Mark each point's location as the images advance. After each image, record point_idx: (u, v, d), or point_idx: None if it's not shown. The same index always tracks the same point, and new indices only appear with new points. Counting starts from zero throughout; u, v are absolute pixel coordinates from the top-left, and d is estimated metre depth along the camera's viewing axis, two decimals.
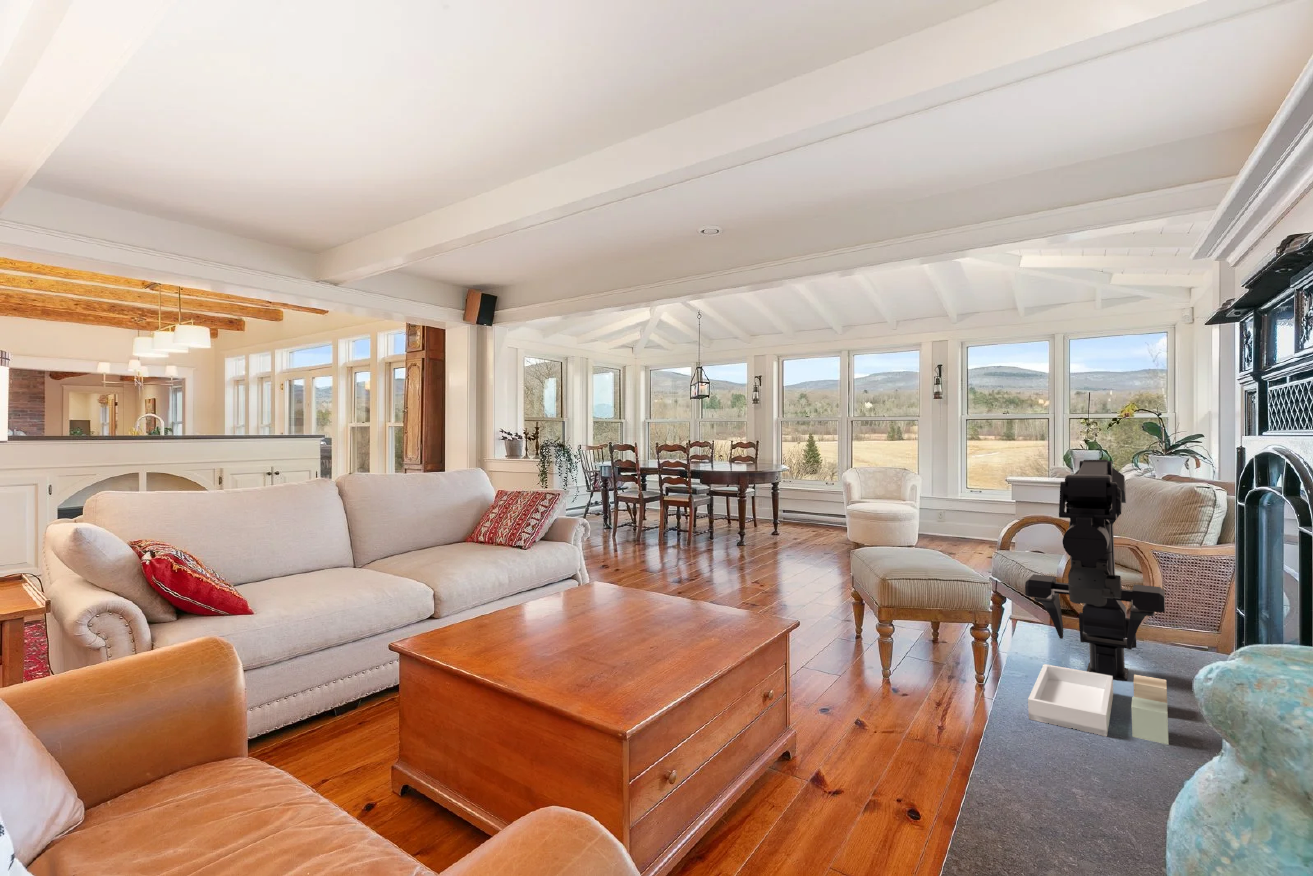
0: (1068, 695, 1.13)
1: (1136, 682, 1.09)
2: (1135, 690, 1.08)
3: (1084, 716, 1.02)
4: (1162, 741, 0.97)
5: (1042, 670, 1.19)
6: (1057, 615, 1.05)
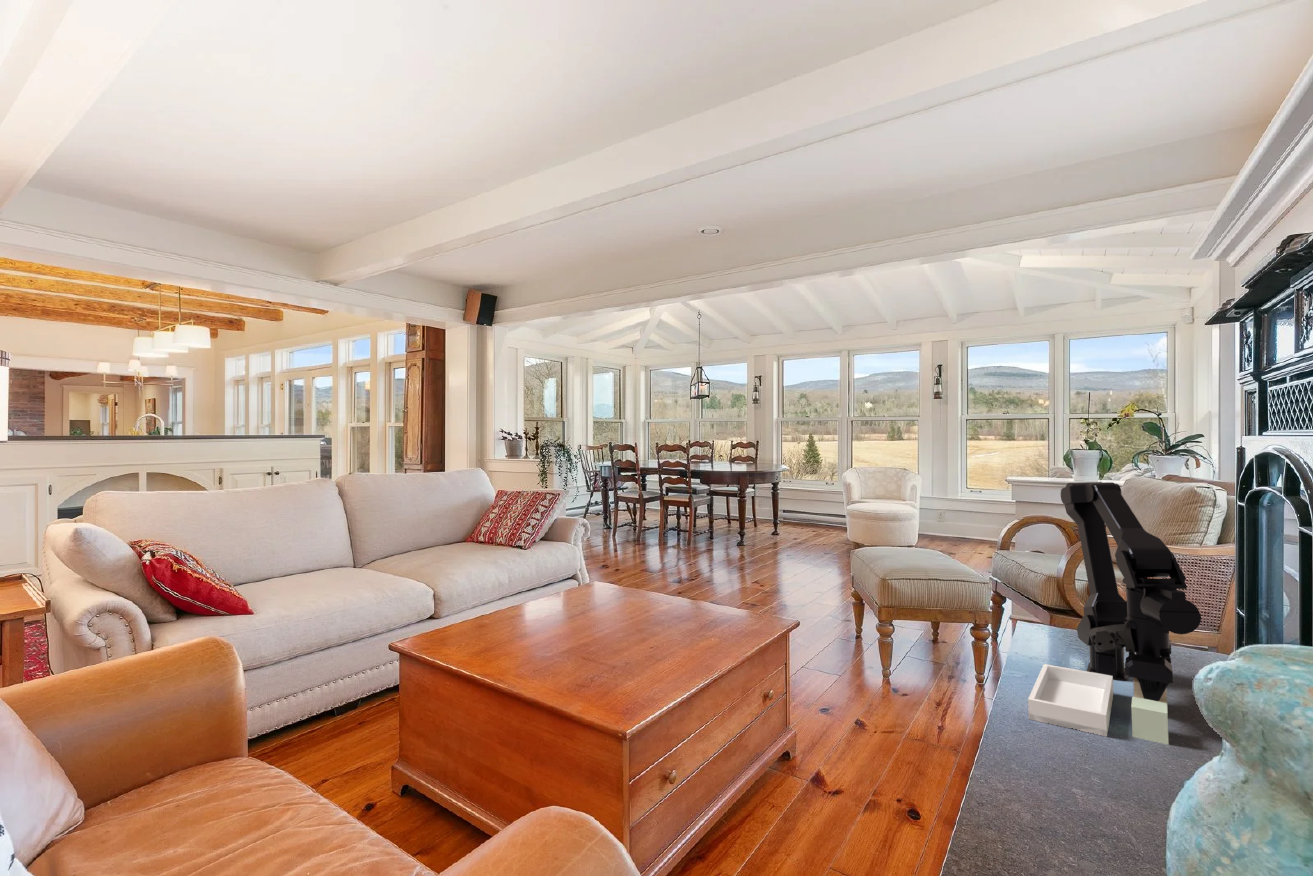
0: (1068, 695, 1.13)
1: (1136, 681, 1.09)
2: (1134, 690, 1.08)
3: (1084, 716, 1.02)
4: (1162, 741, 0.97)
5: (1042, 670, 1.19)
6: None
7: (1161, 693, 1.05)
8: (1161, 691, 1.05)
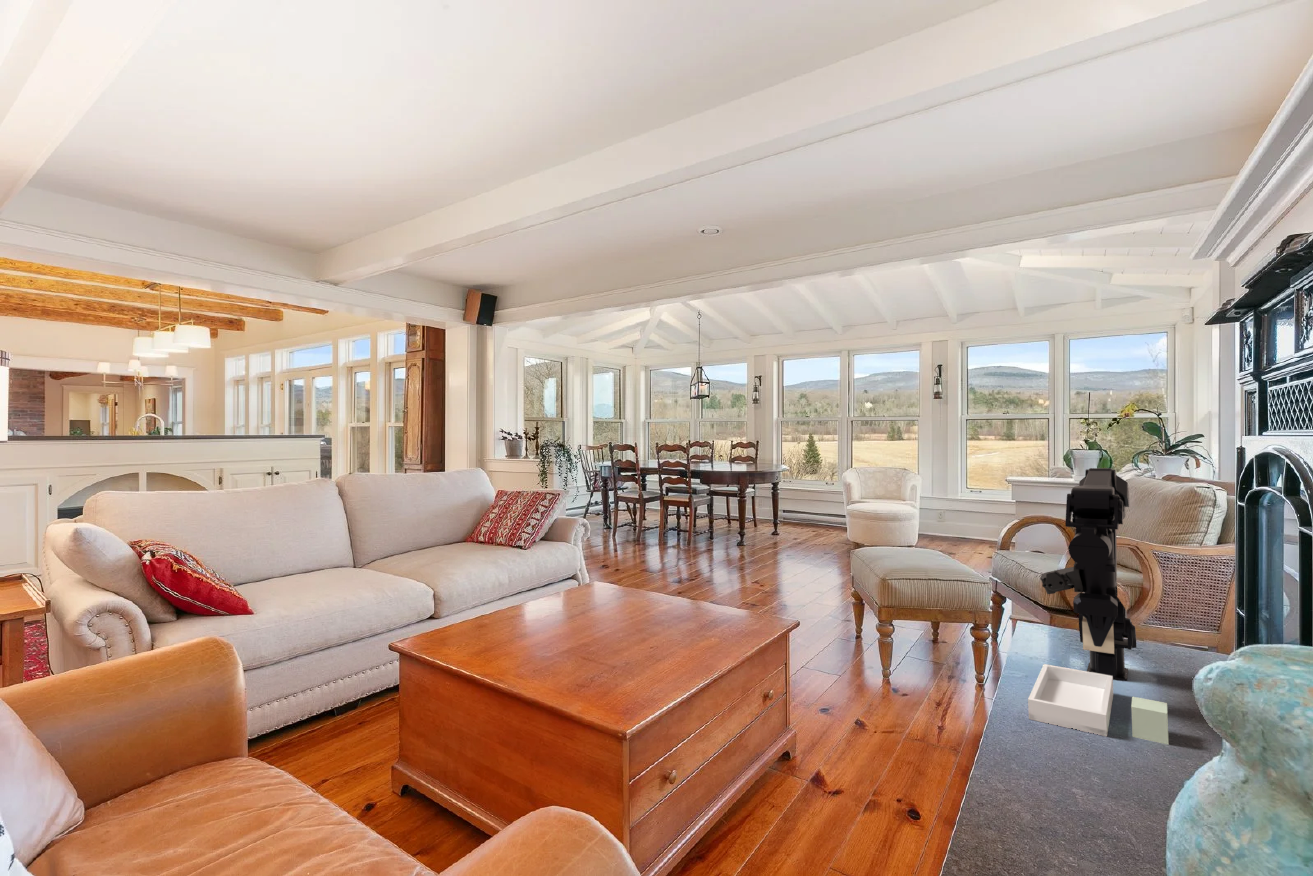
0: (1068, 695, 1.13)
1: (1084, 621, 1.12)
2: (1083, 629, 1.11)
3: (1084, 716, 1.02)
4: (1162, 741, 0.97)
5: (1042, 670, 1.19)
6: None
7: (1107, 630, 1.08)
8: (1107, 628, 1.08)
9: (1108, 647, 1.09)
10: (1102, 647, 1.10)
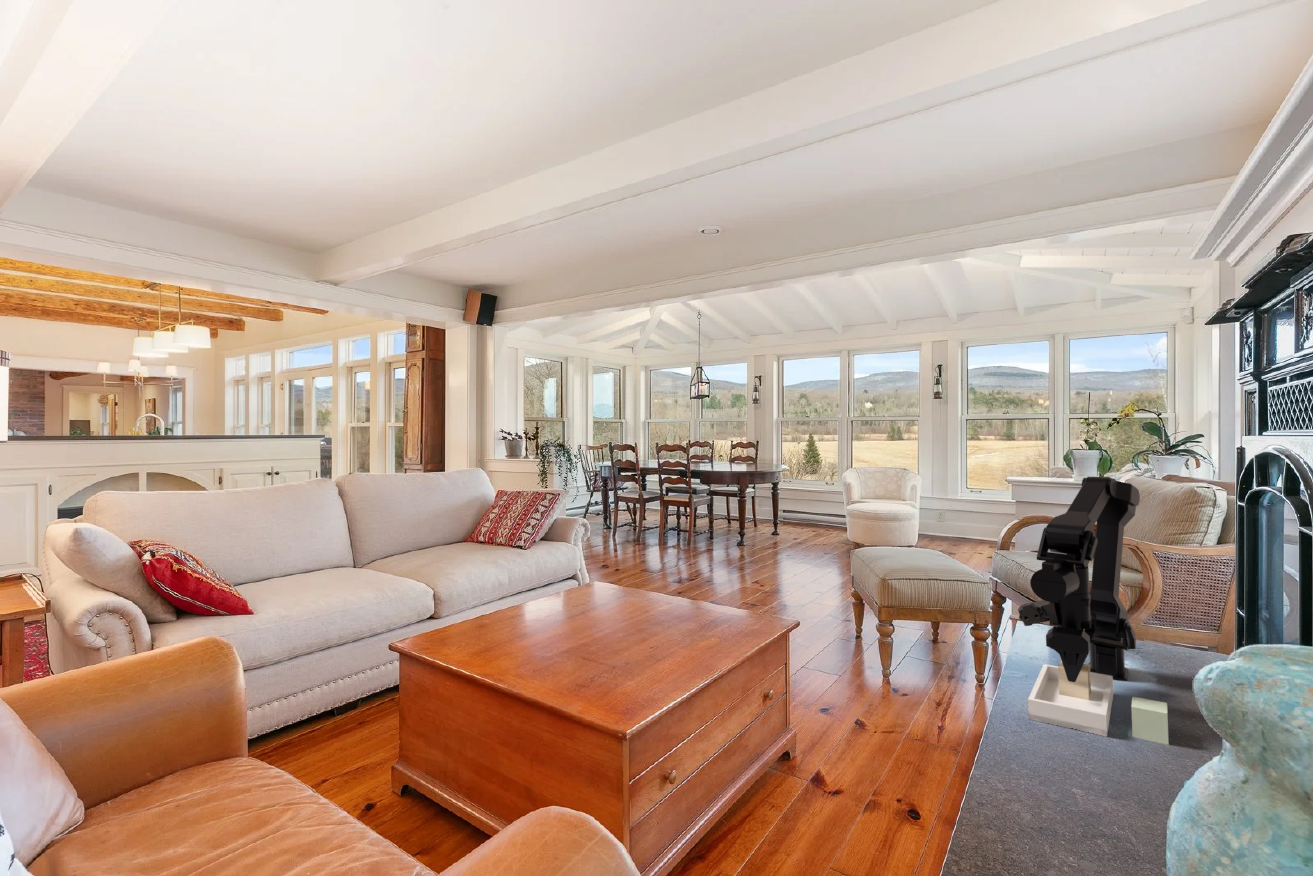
0: None
1: (1060, 667, 1.14)
2: (1059, 674, 1.14)
3: (1084, 716, 1.02)
4: (1162, 741, 0.97)
5: (1042, 670, 1.19)
6: None
7: (1080, 666, 1.09)
8: (1080, 664, 1.09)
9: (1083, 693, 1.11)
10: (1077, 693, 1.12)
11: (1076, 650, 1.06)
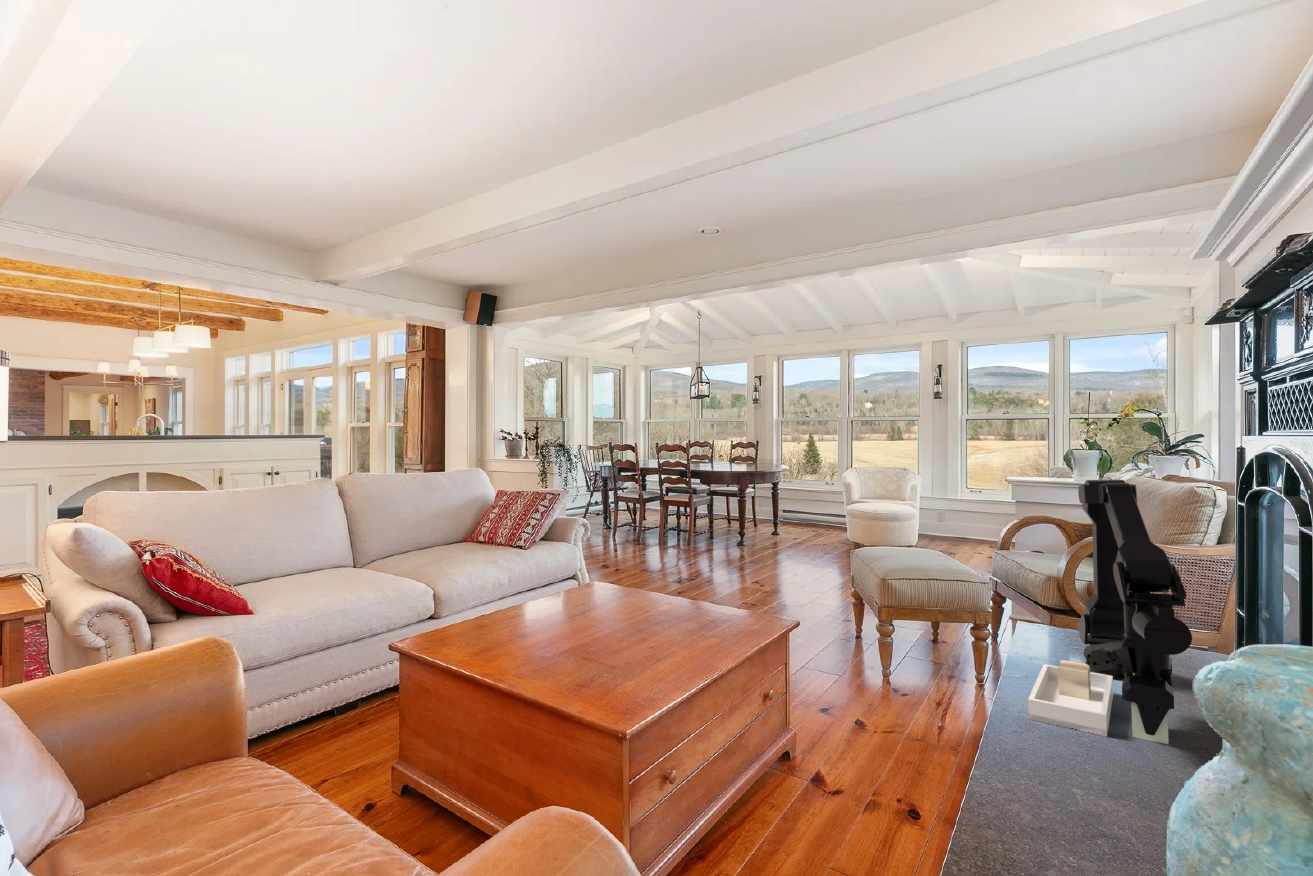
0: None
1: (1060, 667, 1.14)
2: (1059, 674, 1.14)
3: (1084, 716, 1.02)
4: (1162, 740, 0.98)
5: (1042, 670, 1.19)
6: None
7: (1161, 718, 0.96)
8: (1161, 716, 0.96)
9: (1083, 693, 1.11)
10: (1077, 693, 1.12)
11: (1159, 705, 0.92)
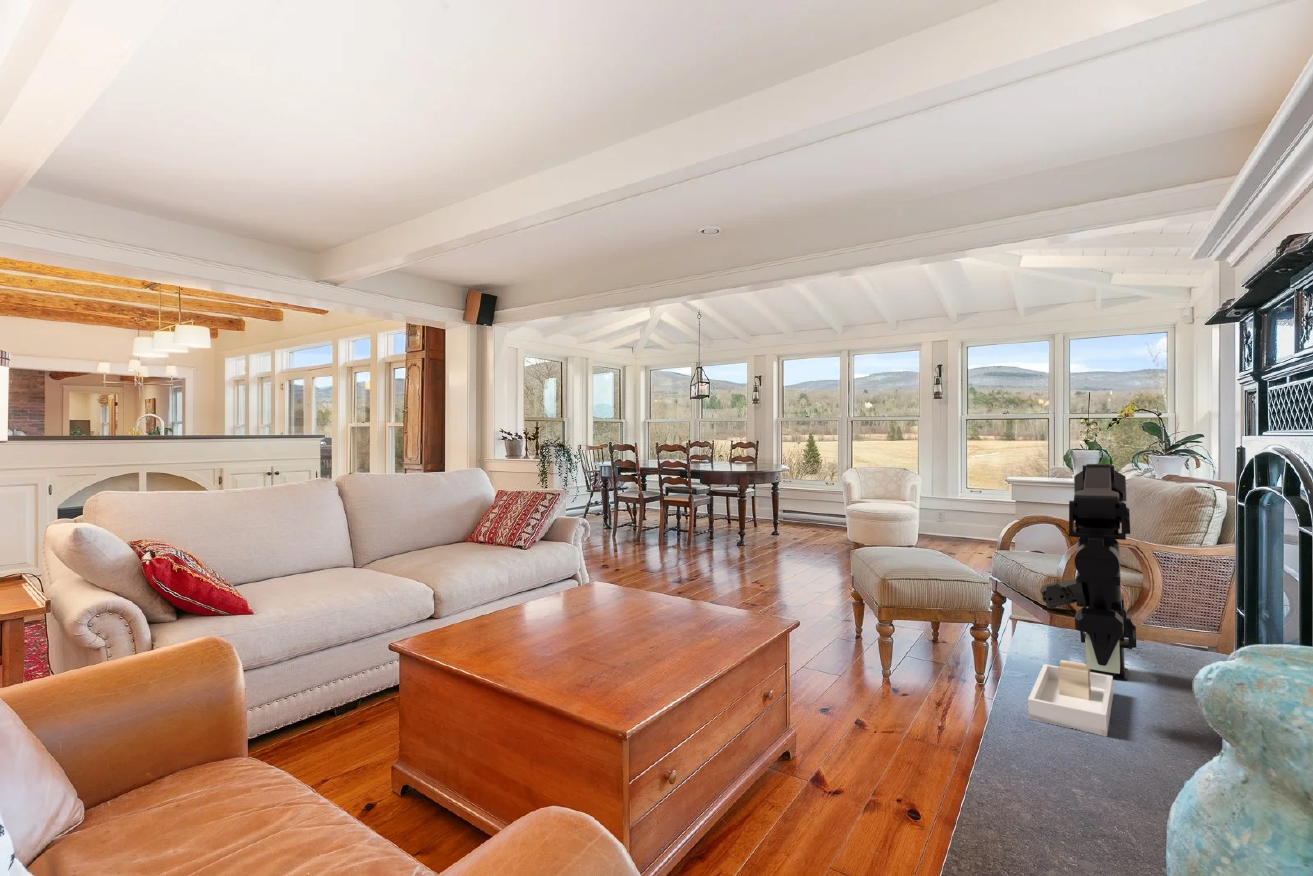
0: None
1: (1060, 667, 1.14)
2: (1059, 674, 1.14)
3: (1084, 716, 1.02)
4: (1114, 670, 1.01)
5: (1042, 670, 1.19)
6: None
7: (1112, 648, 1.00)
8: (1112, 646, 1.00)
9: (1083, 693, 1.11)
10: (1077, 693, 1.12)
11: (1109, 633, 0.96)
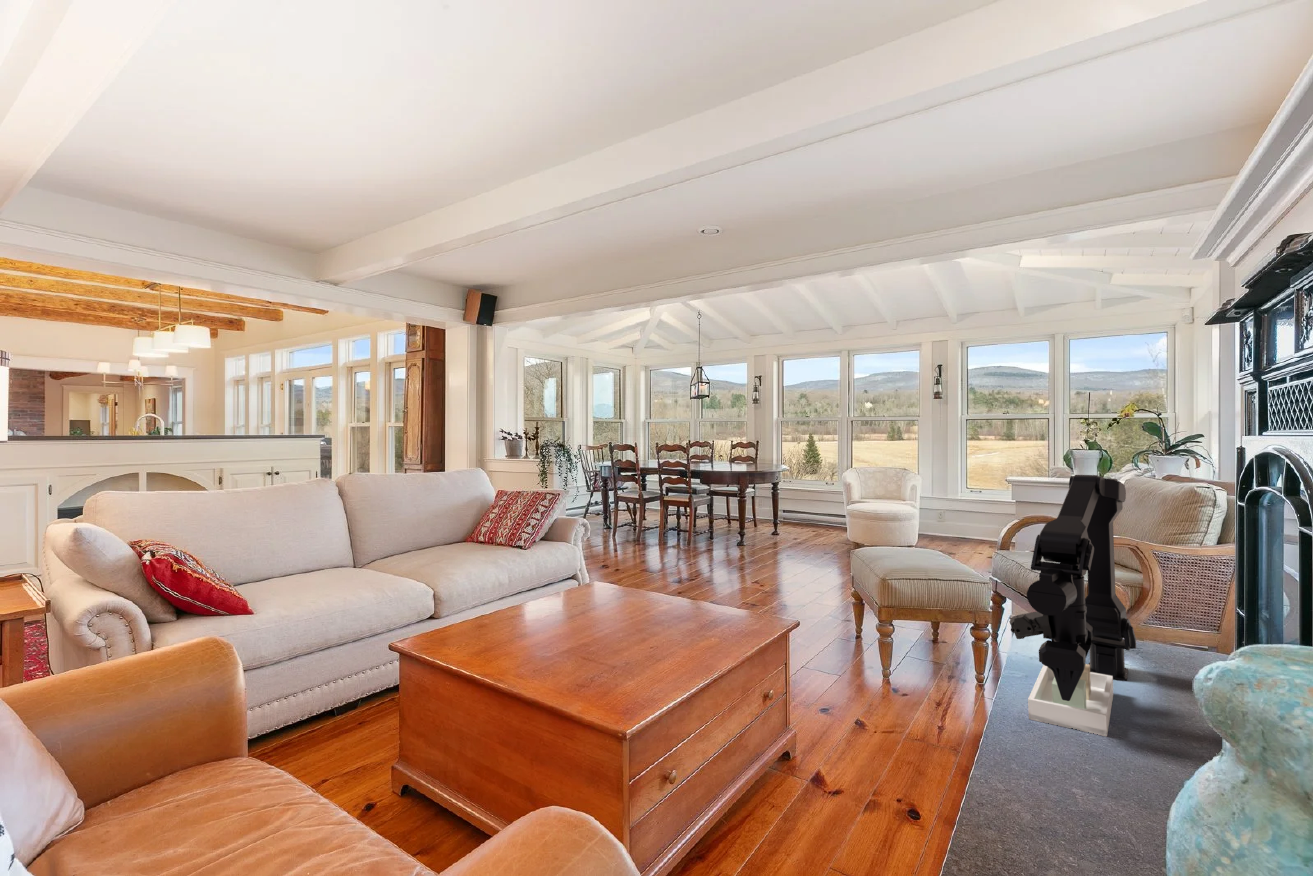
0: None
1: None
2: None
3: (1084, 716, 1.02)
4: None
5: (1042, 670, 1.19)
6: None
7: (1075, 684, 1.02)
8: (1075, 682, 1.02)
9: None
10: None
11: (1071, 666, 0.99)
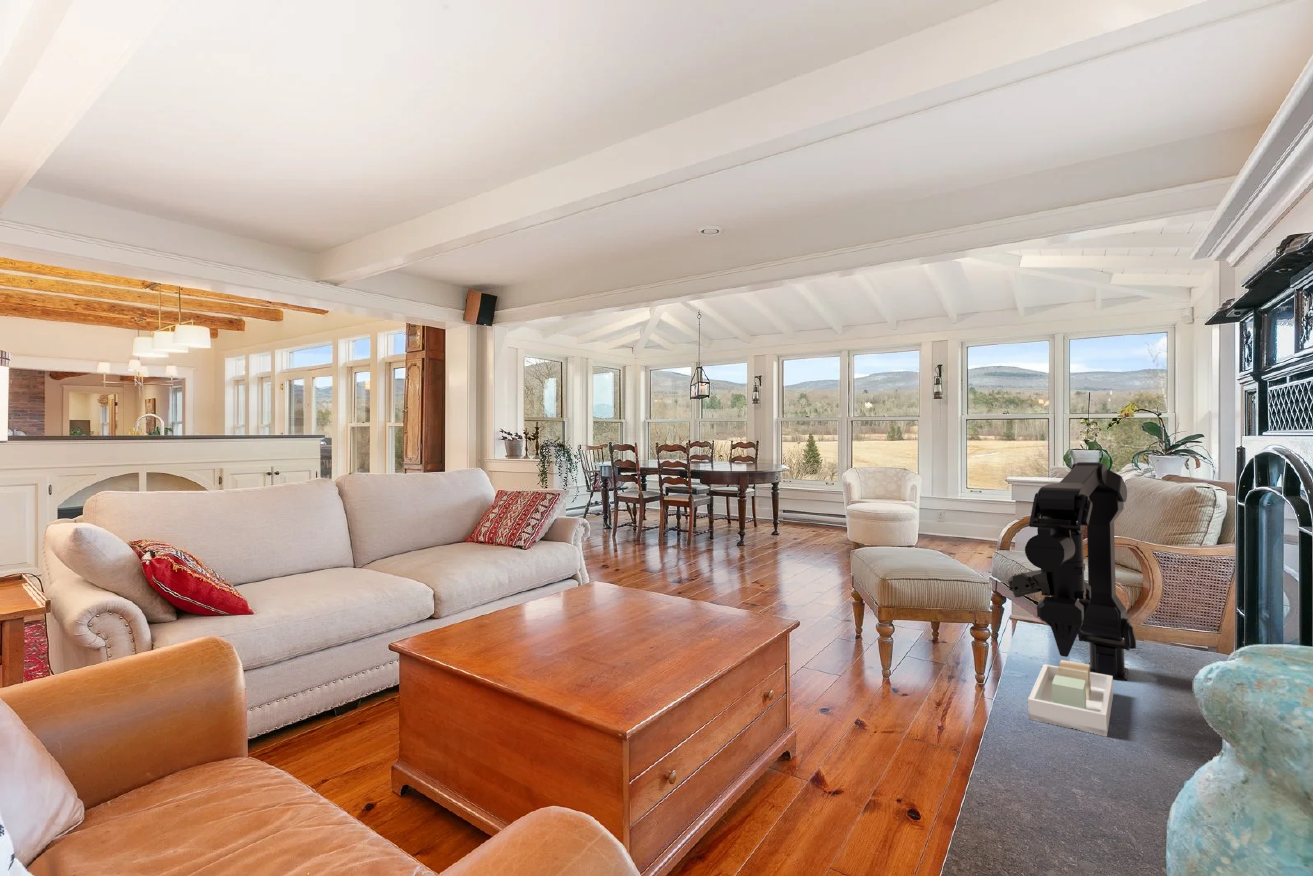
0: None
1: (1060, 667, 1.14)
2: (1059, 674, 1.14)
3: (1084, 716, 1.02)
4: None
5: (1042, 670, 1.19)
6: None
7: (1073, 639, 1.02)
8: (1073, 637, 1.02)
9: None
10: None
11: (1069, 620, 0.99)
